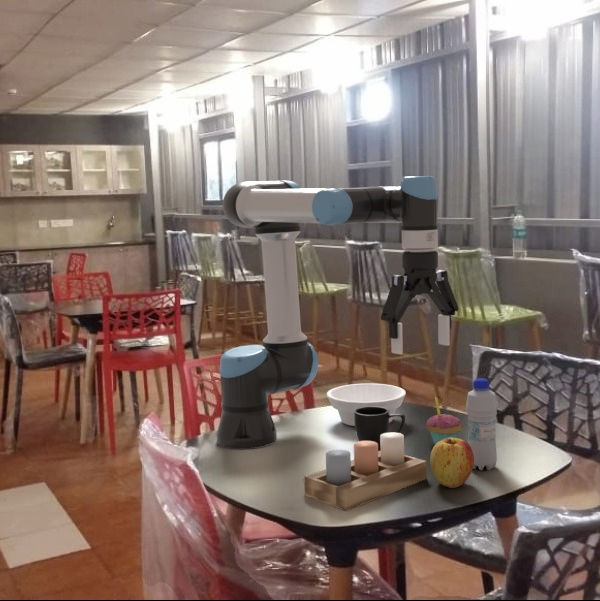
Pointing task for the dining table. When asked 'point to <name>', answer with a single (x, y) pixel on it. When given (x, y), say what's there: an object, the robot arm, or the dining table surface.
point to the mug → (373, 423)
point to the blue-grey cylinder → (338, 467)
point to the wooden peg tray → (365, 483)
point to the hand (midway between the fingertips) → (421, 349)
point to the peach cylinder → (366, 457)
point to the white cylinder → (392, 448)
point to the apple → (452, 462)
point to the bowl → (364, 399)
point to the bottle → (482, 424)
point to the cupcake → (443, 425)
